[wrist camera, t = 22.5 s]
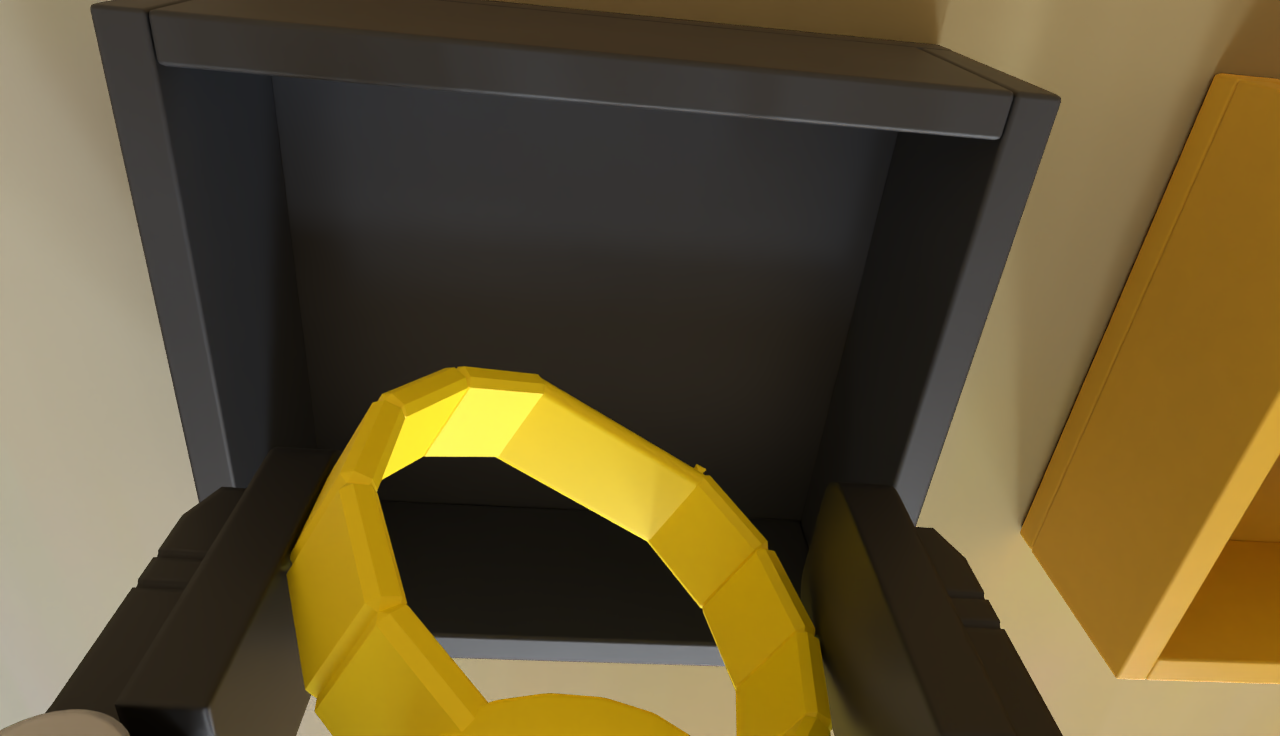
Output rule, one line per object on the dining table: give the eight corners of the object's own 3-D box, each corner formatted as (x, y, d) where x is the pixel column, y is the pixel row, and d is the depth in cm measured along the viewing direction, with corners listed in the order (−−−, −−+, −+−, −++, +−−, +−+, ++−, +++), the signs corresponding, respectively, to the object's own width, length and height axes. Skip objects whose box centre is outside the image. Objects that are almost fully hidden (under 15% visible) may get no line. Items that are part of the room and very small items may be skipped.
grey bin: (306, 499, 17) (230, 653, 14) (234, -26, 12) (87, 3, 9) (815, 523, 18) (867, 672, 15) (940, 44, 13) (1065, 96, 10)
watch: (813, 472, 12) (974, 913, 7) (701, 590, 13) (766, 1047, 8) (443, 263, 10) (270, 649, 5) (349, 421, 11) (127, 872, 6)
